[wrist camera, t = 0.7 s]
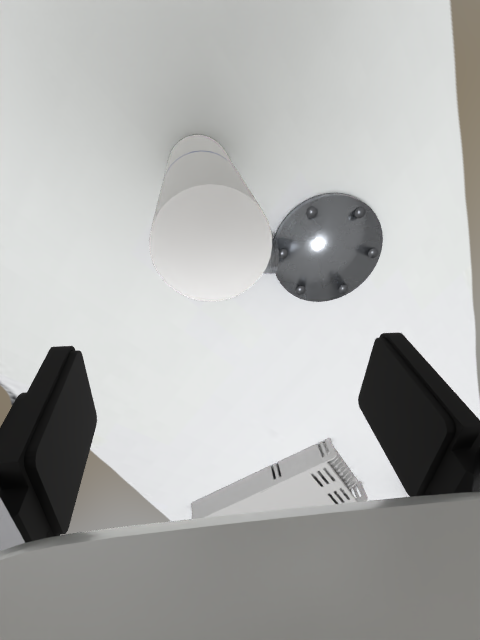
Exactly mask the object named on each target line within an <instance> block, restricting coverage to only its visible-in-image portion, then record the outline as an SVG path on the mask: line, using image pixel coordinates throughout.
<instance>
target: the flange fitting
mask: <svg viewBox="0 0 480 640" xmlns="http://www.w3.org/2000/svg"><path fill="white" fill-rule="evenodd" d="M382 241H383V237H382V229H381V225H380V222H379V220H378V218H377V216H376V214H375V213H374V212H373V210H372V209H371V208H370V207H369V206H367V205H366V204H365V203H363V202H362V201H360V200H359V199H357V198H355V197H352V196H350V195H346V194H340V193H328V194H323V195H318V196H315V197H313V198H310V199H308V200H306V201H304V202H303V203H301V204H300V205H298V206H297V207H296V208H295V209H293V210H292V211H291V212H290V213H289V214H288V215H287V216H286V218H285V219H284V220H283V222H282V223H281V225H280V226H279V228H278V230H277V232H276V235H275V237H274V239H272V250H271V257H270V260H269V262H268V265H267V268H266V269H265V271H264V272H263V274H273V273H276V276H277V278H278V280H279V281H280V283H281V284H282V286H283V287H284V288H285V289H286V290H287V291H288V292H290V293H291V294H292V295H294V296H296V297H298V298H300V299H304V300H307V301H316V302H321V301H329V300H333V299H336V298H339V297H342V296H344V295H346V294H348V293H350V292H351V291H353V290H354V289H356V288H357V287H358V286H359V285H361V284H362V283H363V282H364V281H365V280H366V279H367V277H368V276H369V275H370V274H371V272H372V271H373V269H374V267H375V266H376V264H377V262H378V259H379V256H380V253H381V249H382Z"/></svg>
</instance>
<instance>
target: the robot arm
mask: <svg viewBox="0 0 480 640" xmlns="http://www.w3.org/2000/svg"><path fill="white" fill-rule="evenodd" d="M358 402H359V407H360V409H361V411H362V412H363V414H364V416H365V418H366V420H367V421H368V423H369V425H370V427H371V429H372V431H373V432H374V434H375V436H376V438H377V440H378V441H379V443H380V445H381V447H382V449H383V450H384V452H385V454H386V456H387V458H388V459H389V461H390V463H391V465H392V467H393V469H394V470H395V472H396V474H397V476H398V478H399V479H400V481H401V483H402V485H403V487H404V488H405V490H406V492H407V494H408V495H409V496H410V497H404V498H394V499H383V500H373V501H363V502H353V503H342V504H332V505H322V506H313V507H303V508H293V509H283V510H274V511H264V512H254V513H245V514H235V515H226V516H217V517H207V518H198V519H189V520H180V521H171V522H162V523H152V524H143V525H135V526H127V527H119V528H111V529H103V530H95V531H87V532H80V533H73V534H67V535H61V536H60V534H65V533H66V532H67V531H68V528H69V524H70V521H71V517H72V513H73V510H74V506H75V502H76V498H77V494H78V491H79V487H80V484H81V480H82V476H83V472H84V469H85V465H86V461H87V458H88V454H89V450H90V447H91V443H92V439H93V435H94V432H95V428H96V423H97V415H96V410H95V406H94V402H93V398H92V394H91V389H90V385H89V381H88V377H87V373H86V369H85V365H84V360H83V356H82V353H81V351H75V348H74V347H73V346H61V347H51V349H50V350H49V352H48V354H47V356H46V358H45V360H44V361H43V363H42V365H41V367H40V369H39V371H38V373H37V375H36V377H35V378H34V380H33V382H32V384H31V386H30V388H29V390H28V392H27V393H21V394H20V395H19V396H18V397H17V399H16V400H15V402H14V404H13V406H12V407H11V409H10V411H9V413H8V415H7V417H6V418H5V420H4V422H3V424H2V425H1V428H0V640H480V420H479V419H478V418H477V417H476V416H475V414H474V413H473V412H472V411H471V410H470V409H469V408H468V407H467V406H466V404H465V403H464V402H463V401H462V400H461V399H460V398H459V397H458V396H457V394H456V393H455V392H454V391H453V390H452V389H451V388H450V387H449V386H448V384H447V383H446V382H445V381H444V380H443V379H442V378H441V377H440V375H439V374H438V373H437V372H436V371H435V370H434V369H433V368H432V367H431V365H430V364H429V363H428V362H427V361H426V360H425V359H424V358H423V357H422V355H421V354H420V353H419V352H418V351H417V350H416V349H415V348H414V347H413V345H412V344H411V343H410V342H409V341H408V340H407V339H406V338H405V336H404V335H403V334H401V333H383V334H381V335H380V337H379V338H377V339H376V340H375V342H374V345H373V349H372V352H371V356H370V359H369V363H368V366H367V370H366V373H365V376H364V380H363V383H362V387H361V390H360V394H359V398H358Z"/></svg>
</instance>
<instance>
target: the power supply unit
mask: <svg viewBox="0 0 480 640" xmlns="http://www.w3.org/2000/svg"><path fill="white" fill-rule="evenodd" d="M356 484H357V486H358V489H359V491H360V493H361V497H359V495H358V493H357V490H356V488H355V485H356ZM351 488H353V490H354V492H355V495H356V497H357V498H355V497H354V496H353V494H352V491H351ZM367 498H368V497H367V495H366V493H365V491H364V488H363V486H362V484H361V482H360V481H358V480H357V479H356V477H355V476H354V475H353V473H352V472H351V470H350V469H349V468H348V466H347V465H346V463H345V462H344V461H343V459H342V458H341V456H340V455H339V454H338V452H337V451H336V449H335V448H334V447H333V445H332V443H331V440H330V438H328V439H325V442H324V443H323V442H322V441H321V442H320V444H319V445H318V444H315V445H313V446H311V447H308V448H306V449H304V450H302V451H300V452H298V453H296V454H294V455H291V456H289V457H287V458H285V459H283V460H281V461H279V462H278V464H276V463H275V464H273V466H272V467H271V466H268V467H266V468H264V469H262V470H260V471H258V472H255V473H253V474H251V475H249V476H247V477H245V478H243V479H241V480H239V481H236V482H234V483H232V484H230V485H228V486H226V487H224V488H222V489H219V490H217V491H215V492H213V493H211V494H209V495H207V496H205V497H202V498H200V499H198V500H196V501H194V502H192V519H198V518H207V517H217V516H226V515H235V514H245V513H254V512H264V511H274V510H283V509H293V508H303V507H313V506H322V505H332V504H342V503H353V502H363V501H367Z"/></svg>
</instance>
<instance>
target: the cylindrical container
mask: <svg viewBox="0 0 480 640" xmlns="http://www.w3.org/2000/svg"><path fill="white" fill-rule="evenodd" d="M149 245H150V254H151V258H152V262H153V265H154V267H155V269H156V271H157V273H158V274H159V275H160V277H161V278H162V279H163V281H164V282H165V283H166V284H167V285H168V286H170V287H171V288H172V289H173V290H175V291H176V292H178V293H180V294H181V295H183V296H186V297H188V298H191V299H195V300H200V301H221V300H227V299H229V298H232V297H235V296H238V295H239V294H241V293H243V292H245V291H246V290H248V289H249V288H250V287H251V286H253V285H254V284H255V283H256V282H257V281H258V279H259V278H260V277H261V276H262V274H263V272H264V271H265V269H266V268H267V265H268V262H269V260H270V257H271V250H272V233H271V229H270V226H269V222H268V220H267V218H266V216H265V214H264V212H263V211H262V209H261V208H260V206H259V204H258V203H257V201H256V200H255V198H254V196H253V195H252V193H251V192H250V190H249V189H248V187H247V185H246V184H245V182H244V181H243V179H242V177H241V176H240V174H239V173H238V171H237V170H236V168H235V166H234V165H233V163H232V162H231V160H230V158H229V157H228V155H227V154H226V152H225V150H224V149H223V148H222V146H221V145H220V144H219V143H218V142H217V141H215V140H214V139H212V138H210V137H207V136H204V135H190V136H188V137H185V138H183V139H182V140H180V141H179V142H178V143H177V144H176V145H175V146H174V148H173V149H172V151H171V153H170V156H169V159H168V163H167V167H166V171H165V175H164V179H163V183H162V187H161V191H160V195H159V199H158V203H157V207H156V211H155V215H154V219H153V223H152V227H151V232H150V238H149Z"/></svg>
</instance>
